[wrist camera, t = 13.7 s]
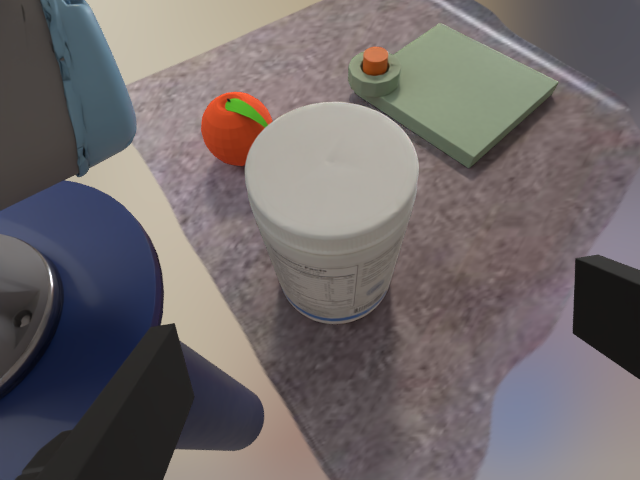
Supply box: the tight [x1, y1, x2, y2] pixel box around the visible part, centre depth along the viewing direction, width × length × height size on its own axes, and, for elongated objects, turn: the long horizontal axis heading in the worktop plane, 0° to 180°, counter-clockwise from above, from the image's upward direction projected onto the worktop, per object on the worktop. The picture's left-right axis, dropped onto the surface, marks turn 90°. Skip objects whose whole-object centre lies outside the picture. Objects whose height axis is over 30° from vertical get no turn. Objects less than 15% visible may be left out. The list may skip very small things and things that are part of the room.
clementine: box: [201, 92, 273, 166], centre depth 37 cm, size 8×7×7 cm
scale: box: [348, 23, 558, 168], centre depth 42 cm, size 17×16×4 cm
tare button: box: [363, 47, 388, 76], centre depth 40 cm, size 3×3×2 cm
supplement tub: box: [245, 102, 419, 324], centre depth 26 cm, size 10×10×15 cm
